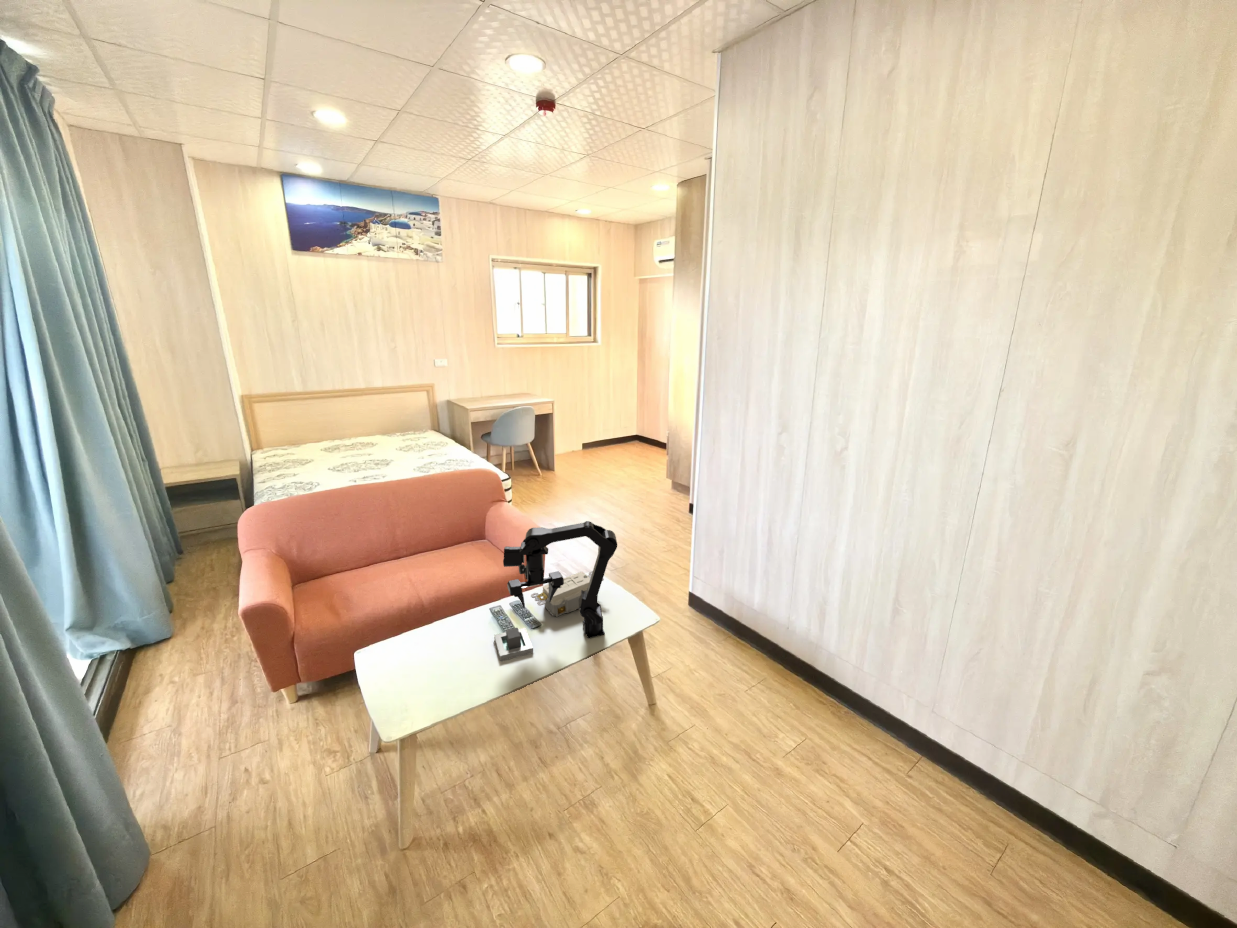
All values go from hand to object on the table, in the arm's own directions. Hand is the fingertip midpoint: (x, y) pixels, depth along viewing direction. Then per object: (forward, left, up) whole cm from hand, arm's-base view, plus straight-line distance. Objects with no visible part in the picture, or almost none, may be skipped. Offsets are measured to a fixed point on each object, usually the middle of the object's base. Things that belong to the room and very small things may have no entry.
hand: (536, 604), depth 169 cm
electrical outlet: (-16, -14, -13) cm, 25 cm away
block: (+9, +3, -12) cm, 16 cm away
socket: (+10, +3, -12) cm, 16 cm away
